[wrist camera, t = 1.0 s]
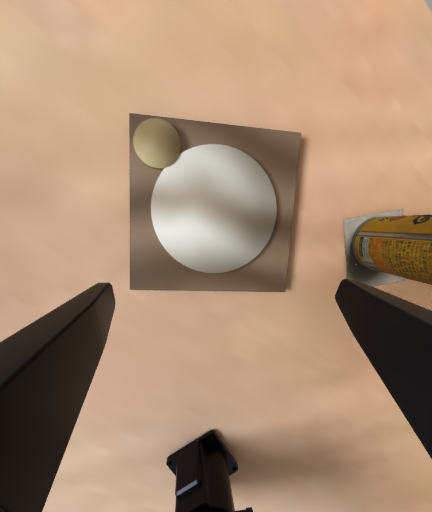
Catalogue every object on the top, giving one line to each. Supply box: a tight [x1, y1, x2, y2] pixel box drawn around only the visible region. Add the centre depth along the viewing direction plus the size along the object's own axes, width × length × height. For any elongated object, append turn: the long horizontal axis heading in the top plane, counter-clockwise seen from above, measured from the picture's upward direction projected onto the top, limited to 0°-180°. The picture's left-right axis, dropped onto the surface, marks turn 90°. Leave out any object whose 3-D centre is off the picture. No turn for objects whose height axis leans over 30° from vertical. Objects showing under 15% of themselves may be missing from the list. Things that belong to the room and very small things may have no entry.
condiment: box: [344, 209, 432, 287], centre depth 19 cm, size 7×8×12 cm
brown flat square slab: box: [130, 113, 301, 292], centre depth 21 cm, size 16×16×2 cm
